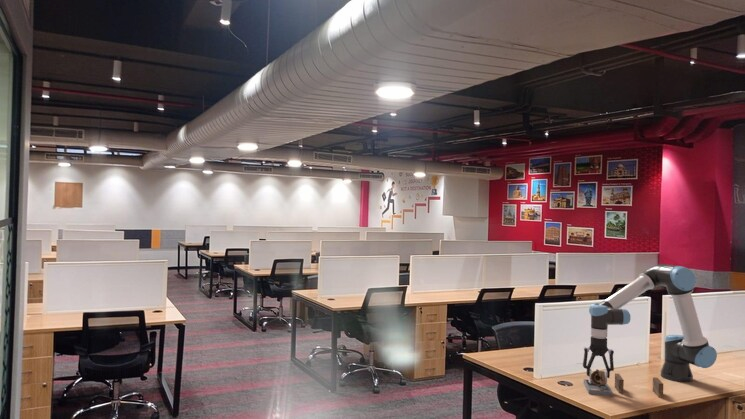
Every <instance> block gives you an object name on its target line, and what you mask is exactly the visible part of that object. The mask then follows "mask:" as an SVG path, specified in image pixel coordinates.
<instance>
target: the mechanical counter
mask: <svg viewBox="0 0 745 419" xmlns="http://www.w3.org/2000/svg"><path fill="white" fill-rule="evenodd" d="M591 380H592V382H593V383H594V384H596V385H598V387H599V388H601V385H606V378H605V370H599V369H595V371H593V372H591Z"/></svg>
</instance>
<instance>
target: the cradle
mask: <svg viewBox="0 0 745 419" xmlns="http://www.w3.org/2000/svg"><path fill="white" fill-rule="evenodd" d="M624 384H625V383H624V378H623V377H622V376H621V375H620V373H614V388H615V390H616V391H617V393H618V394H624ZM652 392H653V393H654V394H655V396H656V397H658V398H661V399H663V398H664V383H663V382H662V381H661V379H659V377H656V376H655V377H654V376H653V377H652Z"/></svg>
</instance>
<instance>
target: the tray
mask: <svg viewBox="0 0 745 419" xmlns="http://www.w3.org/2000/svg"><path fill="white" fill-rule="evenodd" d="M583 384H584V387H585V389H586V391H587V393H588V395H595V394H596V395H595V396H605V397H613V394H614V393H613V390H612V389H611V388H610V385H609V384H608V383H607V385H601V388H599V387H598V385H596V384H594V383H593V382H592V380H591V384H590V383H589V379H588V378H587V379H585V378H583Z"/></svg>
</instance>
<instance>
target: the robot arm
mask: <svg viewBox="0 0 745 419" xmlns="http://www.w3.org/2000/svg"><path fill="white" fill-rule="evenodd" d="M696 283H697V278H696V274H695V273H694V272H693V270H692V269H690V268H688V267H685V266H682V265H672V264H666V263H660V264H657V265H654V266H652V267H650V268H647V269H645V270H643V271H642V272H641V273H639V275H638V277H637V278H635V279H634V280H633V281H631V282H629V283H628V284H626V285H625V286H624V287H622V288H621V289H619V290H618V291H616V292H615V293H613V294H612V295H610V296H609V297H608V298H606V299H604V300H603V301H601V302H600V303H597V302H595V303H591V305H590V306H589V307H588V312H589V314H590V345H589V347H586V346H584V347H583V351H584V352H583V353H584V354H583V359H582V360H583V361H582V368H584V369H586V376H587V377H588V380H589V383H590V384H591V374H592V369H591V367H592V365H593V362H594V360H595V358H596V357H601V358H602V361H603V364H604V367H605V369H604V372H605V378H606V385H607V384H608V379H610V376H611V374H610V372H611V371H614V370H615V365H614V353H615V352H614V350H613V349H609V348H608V338H607V337H608V328H609V327H608V326H610V325H612V326H614V325H617V326H619V325H620V326H621V325H622V326H624V325H628V324H629V323H630V322H631V314H630V311H628V309H625V308H624V309H623V308H622V307H624V306H626V305H628V304H629V303H630V302H632V301H634V300H635V299H636V298H637V297H639V296H641V295H642V294H643V293H645V292H646V291H649V290H653V289H654V288H657V287H666V291H667V294H668V295H669V296H671V297H672V299H673V300H672V301H673V303H674V308H675V310H676V311H675V312H676V313H677V314H676V315H677V318H678V321H679V325H680V328H681V332H682V334H668V335H666V336H665V338H664V340H665V341H664V361H663V365H662V367H661V369H660V376H661V377H662V378H663V379H667V380H671V381H674V382H680V383H690V382H693V380H694V376H693V373H692V372H693V371H692V369H691V366H690V365H693V366H696V367H698V368H701V369H708V368H711V367H712V366H713V365H714V364H715V362H716V361H717V358H718V357H717V356H718V353H717V350H716V349H715V348H714V347H713V346H711V345H710V344H709V341H708V338H707V337H705V336H704V334H703V332H702V328H701V325H700V322H699V317H698V313H697V310H696V306H695V302H694V299H693V296H692V293H693V292H694V288H695V287H696ZM590 351H591V356H590V358H589V360H588V357H589V356H588V355H589V354H588V353H589V352H590ZM606 353H608V355H609V357H608V358H609V363H608V360H607V357H606ZM587 362H588V363H587Z"/></svg>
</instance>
